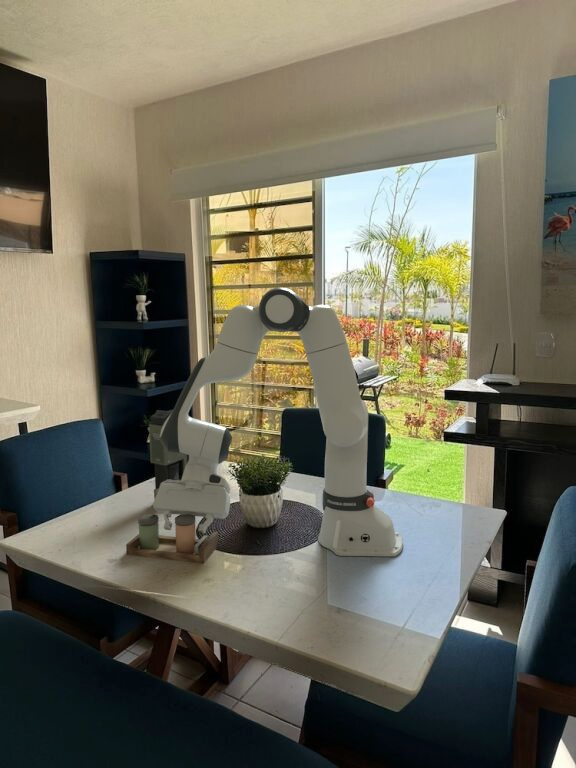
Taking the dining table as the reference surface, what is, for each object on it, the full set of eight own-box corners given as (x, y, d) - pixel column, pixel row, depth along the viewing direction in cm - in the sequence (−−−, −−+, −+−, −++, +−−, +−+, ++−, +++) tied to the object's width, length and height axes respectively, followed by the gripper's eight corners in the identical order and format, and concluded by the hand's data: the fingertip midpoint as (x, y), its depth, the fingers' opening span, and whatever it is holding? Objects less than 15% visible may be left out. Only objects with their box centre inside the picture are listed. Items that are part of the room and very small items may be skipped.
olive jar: (163, 544, 144) (162, 515, 143) (154, 552, 139) (152, 523, 138) (145, 542, 145) (143, 513, 144) (135, 550, 140) (134, 521, 139)
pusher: (211, 547, 142) (210, 536, 141) (201, 558, 136) (201, 546, 135) (204, 546, 142) (204, 535, 142) (194, 558, 136) (194, 546, 136)
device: (167, 509, 169) (164, 414, 165) (149, 504, 173) (145, 412, 168) (196, 495, 181) (194, 407, 177) (179, 491, 185) (176, 404, 180)
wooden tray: (218, 546, 143) (218, 532, 143) (204, 564, 134) (203, 549, 133) (145, 538, 148) (144, 525, 147) (126, 555, 138) (125, 540, 138)
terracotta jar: (199, 547, 142) (198, 515, 141) (191, 556, 137) (190, 523, 136) (180, 545, 143) (179, 513, 142) (172, 554, 138) (171, 521, 137)
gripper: (158, 473, 146) (142, 522, 138) (230, 478, 142) (218, 529, 134) (166, 484, 151) (151, 531, 143) (236, 489, 147) (224, 539, 139)
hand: (184, 530), depth 139 cm, fingers open, 8 cm apart
